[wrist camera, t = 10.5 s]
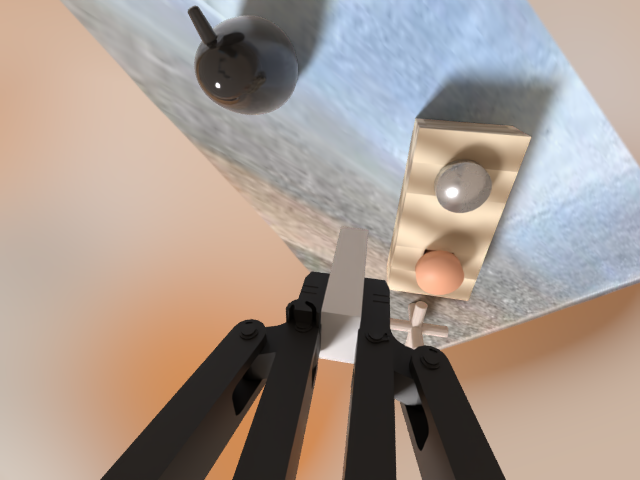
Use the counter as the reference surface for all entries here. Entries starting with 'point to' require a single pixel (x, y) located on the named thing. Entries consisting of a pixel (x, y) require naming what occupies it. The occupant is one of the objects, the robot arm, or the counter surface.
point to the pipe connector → (417, 325)
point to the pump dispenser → (244, 63)
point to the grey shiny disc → (462, 186)
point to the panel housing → (435, 221)
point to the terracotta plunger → (439, 272)
